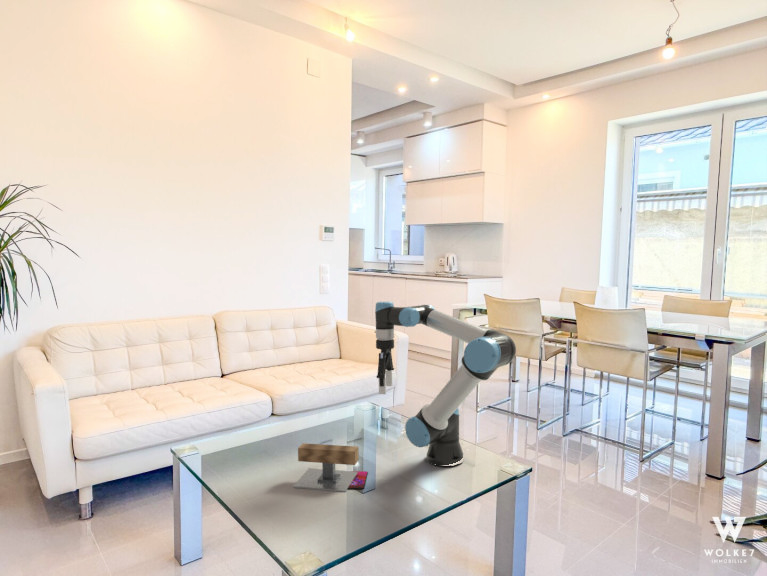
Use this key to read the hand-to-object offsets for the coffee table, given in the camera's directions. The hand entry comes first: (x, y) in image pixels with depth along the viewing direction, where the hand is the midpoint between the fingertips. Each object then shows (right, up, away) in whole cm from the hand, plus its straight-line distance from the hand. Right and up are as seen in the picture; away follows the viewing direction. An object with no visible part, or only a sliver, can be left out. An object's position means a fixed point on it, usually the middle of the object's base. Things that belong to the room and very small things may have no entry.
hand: (385, 389), depth 200 cm
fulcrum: (-21, -30, -20) cm, 42 cm away
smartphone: (-11, -30, -20) cm, 38 cm away
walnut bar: (-22, -22, -20) cm, 37 cm away
